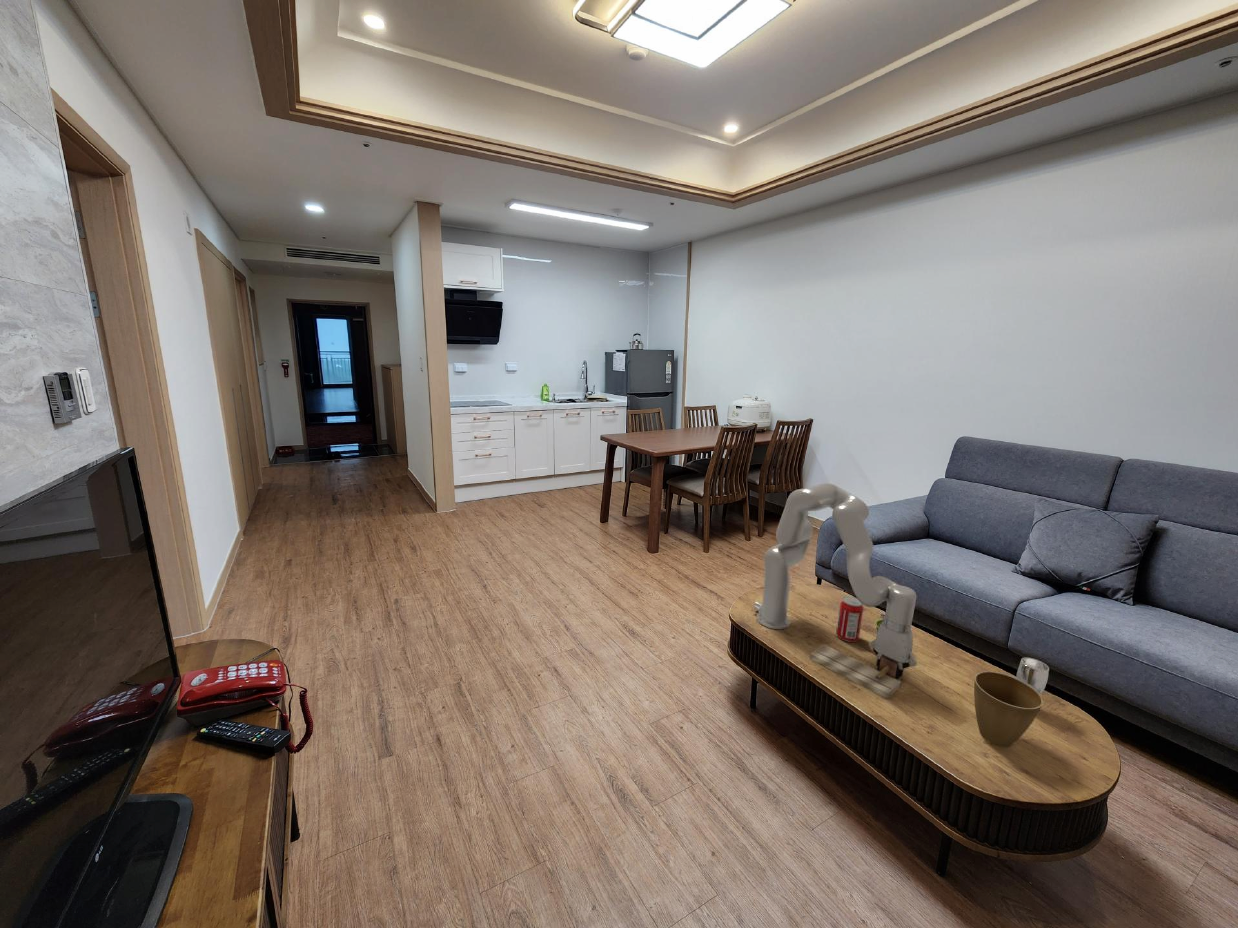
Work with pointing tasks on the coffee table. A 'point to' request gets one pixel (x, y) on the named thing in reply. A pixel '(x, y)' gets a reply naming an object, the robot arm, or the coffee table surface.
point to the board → (855, 671)
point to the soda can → (849, 619)
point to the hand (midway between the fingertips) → (888, 672)
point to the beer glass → (1033, 673)
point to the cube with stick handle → (887, 667)
